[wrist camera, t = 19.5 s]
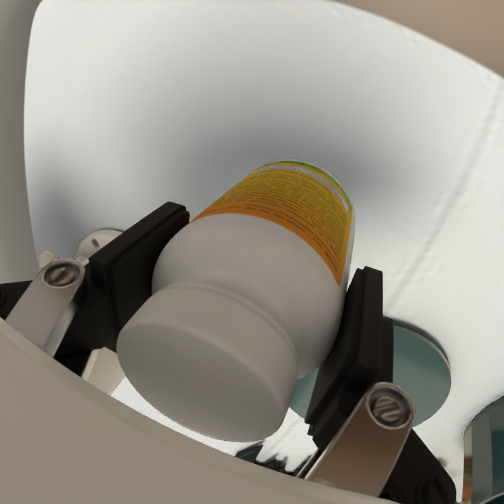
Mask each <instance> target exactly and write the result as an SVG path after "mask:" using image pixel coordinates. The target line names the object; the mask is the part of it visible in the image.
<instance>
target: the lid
mask: <svg viewBox="0 0 504 504" xmlns="http://www.w3.org/2000/svg"><path fill="white" fill-rule="evenodd" d="M319 366H320V365H319ZM319 366H318V367H317V368H316V369H315V370H314V371H312V372H311V373H309V374H308V375H306V376H304V377H302V378H300V379H298V383H297V387H296V390H295V393H294V395H293V397H292V399H291V402H290V405H289V407H290V408H291V409H292V410H293V411H295V412H296V413H297V414H298V415H299V416H301V417H302V418H304V419H305V417H306V414H307V410H308V407H309V403H310V400H311V396H312V392H313V389H314V385H315V381H316V378H317V374H318V370H319ZM393 384H395V385H397V386H400V387H401V388H402V389H404V390H405V391H406V392H407V393H408V394H409V395H410V397H411V398H412V400H413V402H414V404H415V409H416V416H415V421H414V423H413V426H412V427H415V426H417V425H419V424H421V423H422V422H424V421H426V420H427V419H429V418H430V417H431V416H432V415H434V414H435V413H436V412H437V411H438V410H439V409H440V408H441V406H442V405H443V403H444V402H445V400H446V398H447V396H448V394H449V390H450V387H451V374H450V368H449V365H448V362H447V359H446V358H445V356H444V355H443V353H442V352H441V351H440V350H439V348H438V347H437V346H436V345H435V344H433V343H432V342H431V341H430V340H428V339H427V338H425V337H424V336H422V335H420V334H418V333H416V332H414V331H411V330H409V329H406V328H403V327H400V326H396V325H394V361H393Z"/></svg>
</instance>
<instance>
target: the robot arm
mask: <svg viewBox="0 0 504 504" xmlns="http://www.w3.org/2000/svg"><path fill="white" fill-rule="evenodd" d="M189 219H190V214H189V212H188V211H186V207H185V206H183V205H180V204H177V203H174V202H170V201H169V202H167V203H165V204H164V205H162V206H161V207H159V208H158V209H156V210H155V211H153V212H152V213H150V214H149V215H147V216H146V217H144V218H143V219H142V220H140V221H139V222H137V223H136V224H134V225H133V226H132V227H130V228H129V229H127V230H126V231H124V232H123V233H122V232H119V231H115V230H105V229H104V230H100V231H96V232H94V233H93V234H91V235H89V236H88V237H86V238H85V239H84V240H83V241H82V242H81V244H80V246H79V247H78V250H77V255H76V258H75V259H74V260H73V259H60V258H59V257H57V256H55V255H54V254H52V253H50V252H48V251H45V252H43V253H42V254H41V255H40V257H39V260H38V266H39V267H40V269H42V270H41V271H40V272H39V273H38V275H37V276H36V278H35V279H34V280H31V281H23V282H14V283H5V284H0V504H465V503H464V502H463V501H461V502H460V503H458V502H457V501H456V488H455V484H454V482H453V480H452V479H451V477H450V476H449V474H448V473H447V472H446V471H445V469H444V468H443V467H442V466H441V464H440V463H439V462H438V460H437V459H436V458H435V457H434V455H433V454H432V453H431V452H430V450H429V449H428V448H427V446H426V445H425V444H424V443H423V441H422V440H421V439H420V438H419V436H418V435H417V434H416V433H415V431H414V430H413V429H412V426H413V423H414V421H415V416H416V409H415V404H414V402H413V400H412V398H411V397H410V395H409V394H408V393H407V392H406V391H405V390H404V389H402V388H401V387H400V386H397V385H395V384H393V361H394V324H393V320H392V319H390V318H387V317H384V316H382V315H383V275H382V271H379V270H376V269H373V268H370V267H368V266H365V267H364V269H363V270H362V269H359V268H357V270H356V272H355V274H354V277H353V279H352V281H351V284H350V286H349V288H348V290H347V293H346V297H345V303H344V310H343V315H342V320H341V324H340V328H339V331H338V335H337V338H336V341H335V343H334V345H333V348H332V350H331V351H330V353H329V354H328V356H327V357H326V359H325V360H324V361H323V362H322V363H321V364H320V366H319V370H318V374H317V378H316V381H315V385H314V389H313V392H312V396H311V400H310V403H309V407H308V410H307V414H306V417H305V423H306V424H310V427H309V430H308V434H307V435H310V436H313V439H312V440H313V441H314V443H315V444H316V446H317V447H318V448H317V450H316V451H315V452H314V454H313V455H312V456H311V458H310V459H309V460H308V462H307V463H306V464H305V466H304V467H303V468H302V470H301V471H300V472H299V473H298V475H297V476H296V477H294V476H290V475H287V474H284V473H281V472H277V471H274V470H271V469H268V468H265V467H262V466H259V465H256V464H254V463H251V462H248V461H245V460H243V459H240V458H237V457H235V456H232V455H229V454H227V453H224V452H222V451H219V450H217V449H215V448H212V447H210V446H208V445H205V444H203V443H201V442H198V441H196V440H194V439H192V438H189V437H187V436H185V435H183V434H181V433H179V432H177V431H174V430H172V429H170V428H168V427H166V426H164V425H162V424H160V423H158V422H156V421H154V420H152V419H151V418H149V417H147V416H145V415H143V414H141V413H139V412H137V411H136V410H134V409H132V408H130V407H128V406H127V405H125V404H123V403H121V402H120V401H118V400H116V399H115V398H113V397H111V396H110V395H111V394H112V393H113V391H114V390H115V389H116V388H117V386H118V385H119V384H120V383H121V381H122V380H123V379H124V378H125V376H126V375H125V374H124V372H123V370H122V368H121V366H120V363H119V360H118V355H117V350H116V345H117V339H118V336H119V334H120V331H121V330H122V329H123V327H124V326H125V325H126V324H127V322H128V321H129V320H130V319H131V318H132V317H133V315H134V314H135V313H136V312H137V311H138V310H139V309H140V307H141V306H142V305H143V304H144V303H145V302H146V301H147V300H148V299H149V298H150V297H151V296H152V277H153V272H154V268H155V265H156V262H157V260H158V258H159V256H160V254H161V252H162V250H163V249H164V247H165V246H166V245H167V244H168V242H169V241H170V240H171V239H172V238H173V237H174V236H175V235H176V234H177V233H178V232H179V231H180V230H181V229H182V228H184V227H185V226H186V225H187V224H188V223H189Z"/></svg>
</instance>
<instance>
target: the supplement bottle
mask: <svg viewBox="0 0 504 504" xmlns="http://www.w3.org/2000/svg"><path fill="white" fill-rule="evenodd" d="M354 230H355V216H354V209H353V206H352V203H351V200H350V198H349V196H348V194H347V192H346V190H345V189H344V188H343V186H342V185H341V184H340V182H339V181H338V180H337V179H336V178H335V177H334V176H333V175H332V174H330V173H329V172H328V171H326V170H325V169H323V168H321V167H320V166H318V165H315V164H313V163H310V162H306V161H302V160H295V159H284V160H277V161H273V162H270V163H267V164H265V165H263V166H261V167H259V168H257V169H256V170H254V171H253V172H251V173H250V174H249V175H248V176H246V177H245V178H244V179H243V180H241V181H240V182H239V183H238V184H236V185H235V186H234V187H233V188H231V189H230V190H229V191H227V192H226V193H225V194H224V195H223V196H222V197H220V198H219V199H218V200H217V201H215V202H214V203H213V204H212V205H210V206H209V207H208V208H207V209H205V210H204V211H203V212H202V213H200V214H199V215H198V216H197V217H196V218H194V219H193V220H192V221H191V222H190V223H188V224H187V225H186V226H185V227H184V228H182V229H181V230H180V231H179V232H178V233H177V234H176V235H175V236H174V237H173V238H172V239H171V240H170V241H169V242H168V244H167V245H166V246H165V247H164V249H163V250H162V252H161V254H160V256H159V258H158V260H157V262H156V265H155V268H154V272H153V277H152V296H151V297H150V298H149V299H148V300H147V301H146V302H145V303H144V304H143V305H142V306H141V307H140V309H139V310H138V311H137V312H136V313H135V314H134V315H133V317H132V318H131V319H130V320H129V321H128V322H127V324H126V325H125V326H124V327H123V329H122V330H121V331H120V334H119V336H118V339H117V345H116V350H117V355H118V360H119V363H120V366H121V368H122V370H123V372H124V374H125V375H126V377H127V378H128V380H129V381H130V383H131V384H132V385H133V387H134V388H135V389H136V390H137V391H138V392H139V394H140V395H141V396H142V397H143V398H144V399H145V400H146V401H148V402H149V403H150V404H151V405H152V406H153V407H154V408H156V409H157V410H158V411H159V412H161V413H162V414H164V415H165V416H167V417H168V418H170V419H171V420H173V421H174V422H176V423H178V424H180V425H182V426H183V427H185V428H187V429H190V430H192V431H194V432H197V433H199V434H202V435H204V436H207V437H211V438H214V439H218V440H223V441H230V442H254V441H259V440H263V439H265V438H267V437H269V436H271V435H272V434H274V433H275V432H276V431H277V430H278V429H279V428H280V426H281V425H282V423H283V421H284V418H285V416H286V413H287V410H288V408H289V405H290V402H291V399H292V397H293V395H294V393H295V390H296V387H297V383H298V379H300V378H302V377H304V376H306V375H308V374H309V373H311V372H312V371H314V370H315V369H316V368H317V367H318V366H319V365H320V364H321V363H322V362H323V361H324V360H325V359H326V357H327V356H328V354H329V353H330V351H331V350H332V348H333V345H334V343H335V341H336V338H337V335H338V331H339V328H340V324H341V320H342V315H343V310H344V303H345V297H346V291H347V285H348V278H349V271H350V264H351V257H352V250H353V243H354Z"/></svg>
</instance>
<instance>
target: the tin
mask: <svg viewBox="0 0 504 504" xmlns="http://www.w3.org/2000/svg"><path fill="white" fill-rule="evenodd" d="M462 501H463V502H464V503H465V504H504V397H502V398H500V399H499V400H497V401H495V402H494V403H492V404H491V405H489V406H488V407H487V408H485V409H484V410H483V411H482V412H480V413H479V414H478V415H477V416H476V417H475V418H474V419H473V421H472V422H471V423H470V424H469V426H468V427H467V430H466V432H465V437H464V476H463V495H462Z"/></svg>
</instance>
